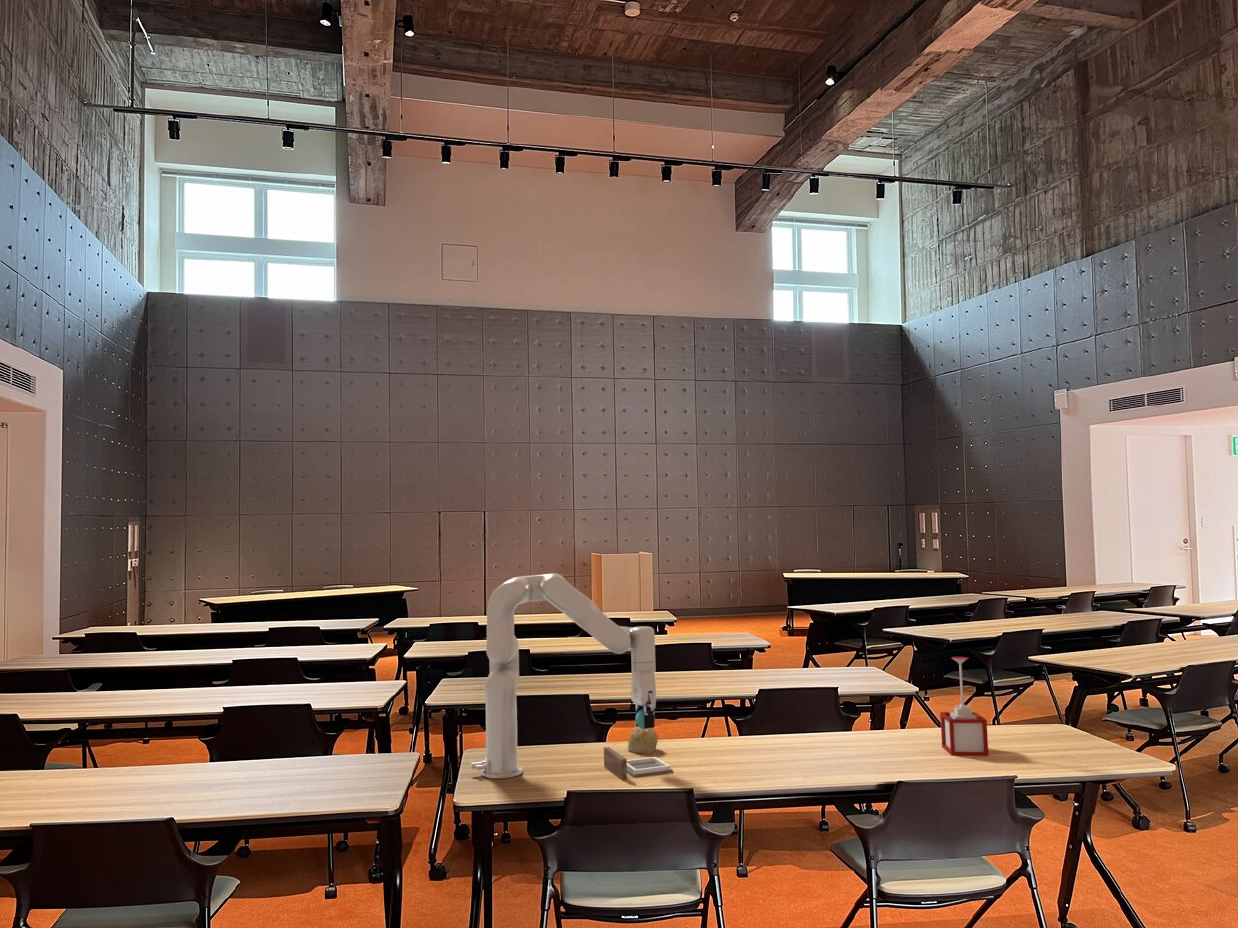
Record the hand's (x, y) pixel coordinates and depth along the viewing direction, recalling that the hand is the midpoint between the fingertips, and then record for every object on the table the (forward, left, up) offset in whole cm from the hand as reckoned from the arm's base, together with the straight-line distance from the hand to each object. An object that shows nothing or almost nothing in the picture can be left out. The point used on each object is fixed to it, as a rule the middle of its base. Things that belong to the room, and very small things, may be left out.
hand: (645, 725), depth 263 cm
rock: (+8, +22, -14) cm, 27 cm away
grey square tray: (0, 0, -13) cm, 13 cm away
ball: (0, 0, +2) cm, 2 cm away
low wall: (-10, 0, -13) cm, 17 cm away
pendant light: (+103, -23, -14) cm, 106 cm away
